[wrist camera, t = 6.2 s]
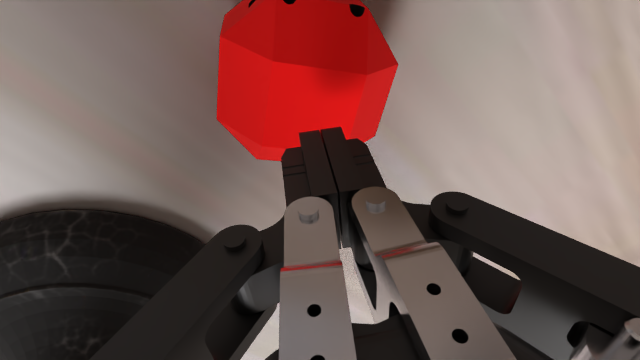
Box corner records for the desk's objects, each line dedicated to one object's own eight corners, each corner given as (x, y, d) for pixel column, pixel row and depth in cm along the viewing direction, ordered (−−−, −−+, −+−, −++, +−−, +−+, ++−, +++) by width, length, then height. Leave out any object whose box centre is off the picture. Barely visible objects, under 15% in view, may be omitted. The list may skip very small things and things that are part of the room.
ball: (379, -9, 20) (432, 31, 14) (344, 120, 25) (374, 191, 19) (229, -40, 18) (218, -9, 12) (222, 106, 23) (211, 180, 17)
